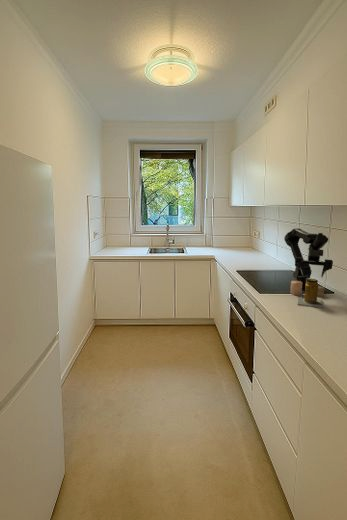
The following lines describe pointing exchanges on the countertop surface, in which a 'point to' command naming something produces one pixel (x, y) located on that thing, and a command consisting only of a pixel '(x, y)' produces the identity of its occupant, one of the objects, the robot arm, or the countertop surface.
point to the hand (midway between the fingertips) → (312, 276)
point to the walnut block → (320, 291)
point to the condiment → (311, 292)
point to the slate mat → (301, 302)
